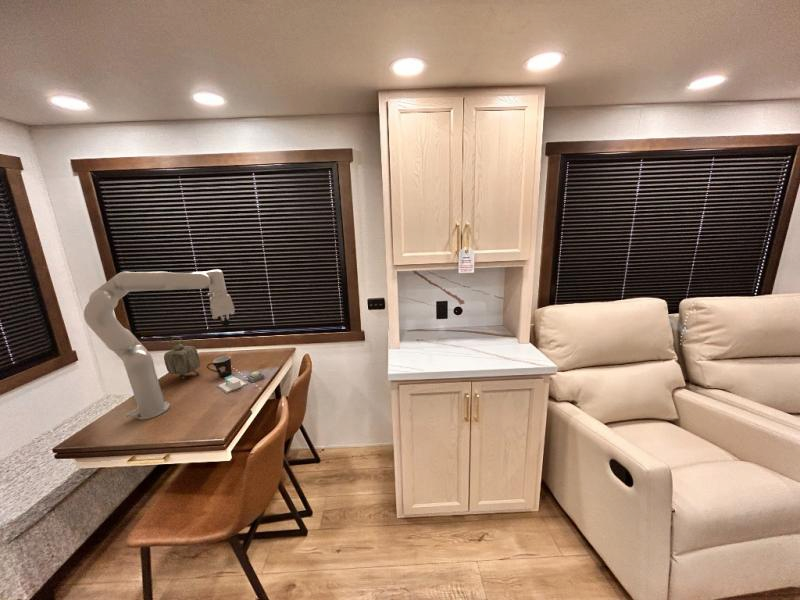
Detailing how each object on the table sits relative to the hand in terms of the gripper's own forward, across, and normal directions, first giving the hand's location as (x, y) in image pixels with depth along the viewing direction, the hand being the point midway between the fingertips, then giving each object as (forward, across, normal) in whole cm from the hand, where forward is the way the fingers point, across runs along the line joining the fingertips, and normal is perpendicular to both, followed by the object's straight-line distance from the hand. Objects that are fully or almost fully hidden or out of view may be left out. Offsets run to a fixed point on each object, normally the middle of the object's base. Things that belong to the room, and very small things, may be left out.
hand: (226, 326), depth 163 cm
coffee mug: (+31, -3, +13) cm, 34 cm away
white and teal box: (+30, -5, -7) cm, 32 cm away
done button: (+31, +6, -9) cm, 32 cm away
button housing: (+31, +6, -9) cm, 33 cm away
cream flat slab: (+31, -5, -5) cm, 32 cm away
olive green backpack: (+31, -17, +30) cm, 47 cm away
